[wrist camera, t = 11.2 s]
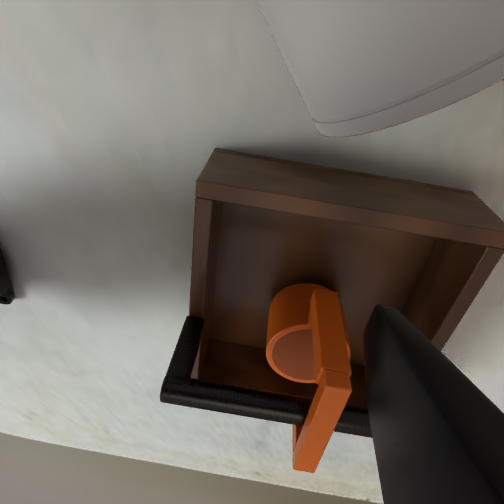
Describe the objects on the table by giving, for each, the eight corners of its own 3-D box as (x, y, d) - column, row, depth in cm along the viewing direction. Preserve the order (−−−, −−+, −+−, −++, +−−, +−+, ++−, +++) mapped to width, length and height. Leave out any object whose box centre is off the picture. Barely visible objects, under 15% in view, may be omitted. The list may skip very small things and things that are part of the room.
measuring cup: (263, 331, 24) (251, 469, 17) (281, 250, 20) (276, 377, 13) (332, 343, 24) (350, 485, 17) (361, 263, 20) (402, 399, 13)
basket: (199, 340, 27) (184, 392, 23) (214, 148, 19) (196, 180, 15) (379, 370, 27) (393, 427, 23) (472, 191, 19) (516, 234, 15)
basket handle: (185, 329, 20) (159, 407, 16) (186, 313, 19) (159, 391, 15) (431, 370, 20) (466, 459, 16) (440, 356, 19) (479, 445, 15)
